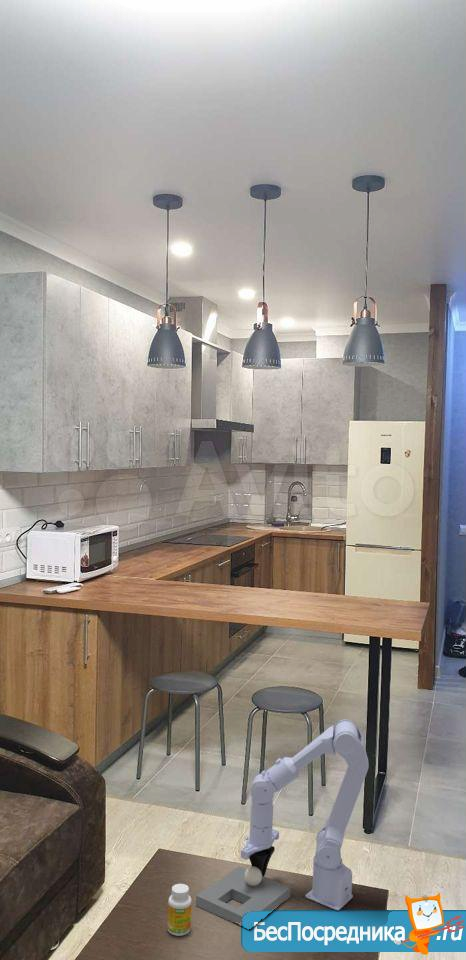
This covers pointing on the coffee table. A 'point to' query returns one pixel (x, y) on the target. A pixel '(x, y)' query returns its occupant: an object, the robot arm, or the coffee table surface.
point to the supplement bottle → (179, 910)
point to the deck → (241, 895)
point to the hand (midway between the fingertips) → (259, 875)
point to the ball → (253, 876)
